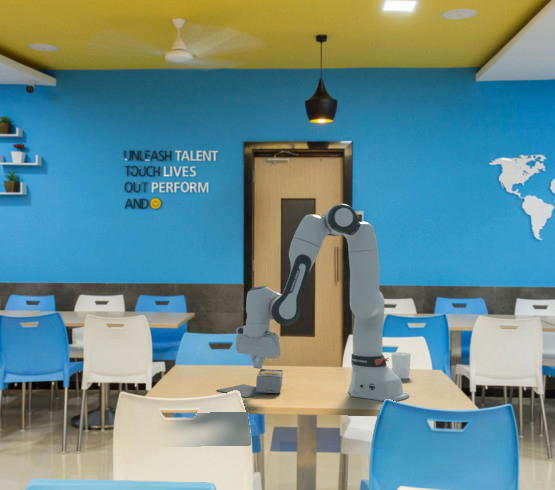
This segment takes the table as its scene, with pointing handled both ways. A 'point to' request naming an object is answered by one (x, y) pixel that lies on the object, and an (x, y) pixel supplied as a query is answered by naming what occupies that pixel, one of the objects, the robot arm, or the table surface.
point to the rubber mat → (242, 390)
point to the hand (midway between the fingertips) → (257, 368)
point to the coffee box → (269, 381)
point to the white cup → (401, 364)
